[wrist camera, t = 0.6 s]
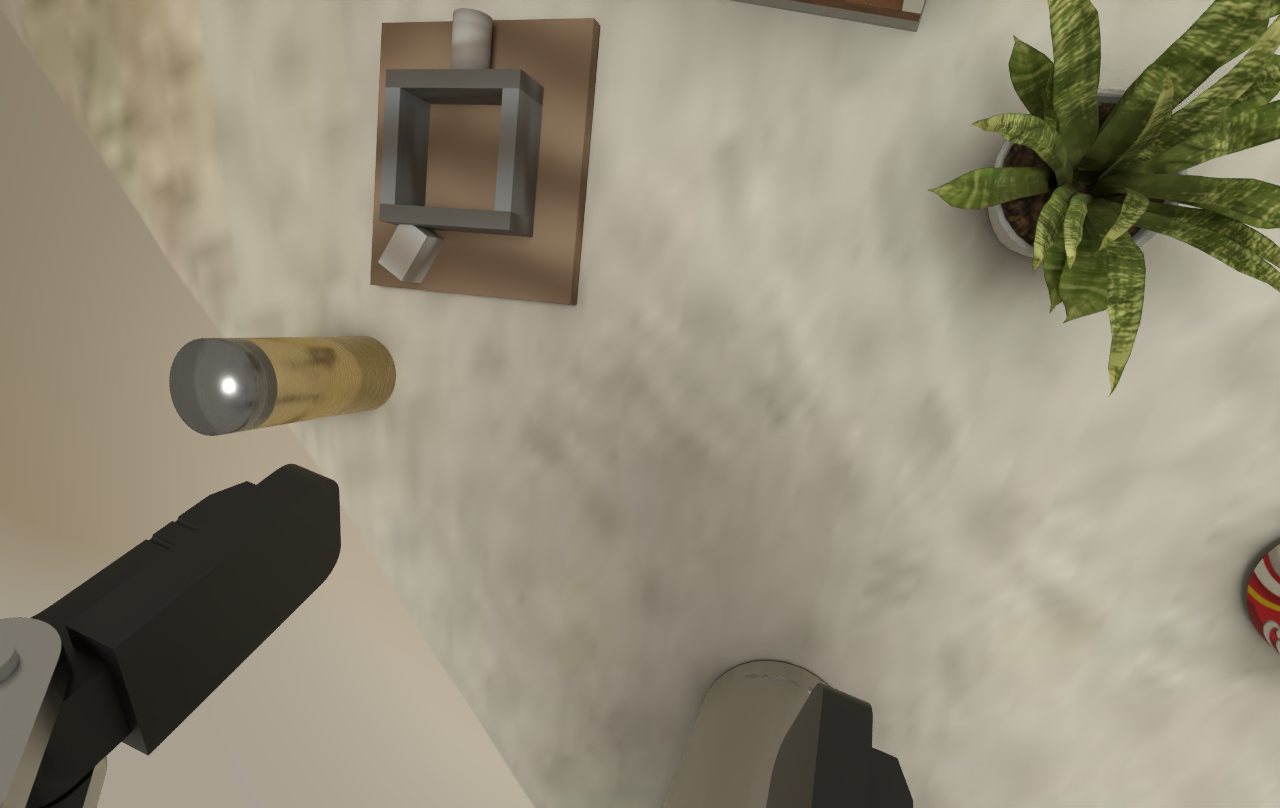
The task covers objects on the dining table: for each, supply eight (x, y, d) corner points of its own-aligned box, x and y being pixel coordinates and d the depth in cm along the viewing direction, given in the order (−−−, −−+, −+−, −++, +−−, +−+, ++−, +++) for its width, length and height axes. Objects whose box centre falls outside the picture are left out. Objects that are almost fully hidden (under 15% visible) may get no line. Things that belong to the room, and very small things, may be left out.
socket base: (576, 304, 42) (549, 302, 38) (380, 285, 45) (337, 281, 41) (600, 25, 39) (574, -8, 36) (392, 29, 43) (348, 0, 39)
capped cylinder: (393, 414, 46) (245, 442, 35) (331, 404, 47) (169, 428, 36) (397, 340, 45) (246, 344, 34) (334, 332, 47) (170, 333, 35)
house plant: (1196, 384, 33) (1512, 432, 17) (891, 363, 37) (927, 388, 21) (1244, 73, 31) (1645, -185, 16) (919, 85, 35) (981, -112, 19)
